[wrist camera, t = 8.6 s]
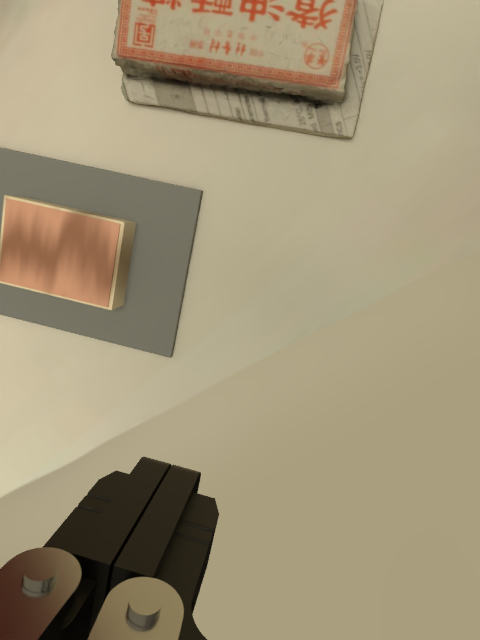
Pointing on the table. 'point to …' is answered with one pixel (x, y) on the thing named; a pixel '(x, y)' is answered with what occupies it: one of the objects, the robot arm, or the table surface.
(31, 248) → the birch tile
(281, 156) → the table surface
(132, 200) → the mat
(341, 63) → the packaged product
